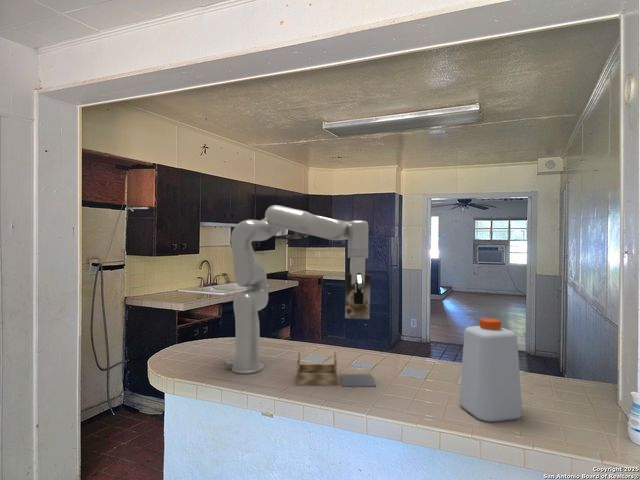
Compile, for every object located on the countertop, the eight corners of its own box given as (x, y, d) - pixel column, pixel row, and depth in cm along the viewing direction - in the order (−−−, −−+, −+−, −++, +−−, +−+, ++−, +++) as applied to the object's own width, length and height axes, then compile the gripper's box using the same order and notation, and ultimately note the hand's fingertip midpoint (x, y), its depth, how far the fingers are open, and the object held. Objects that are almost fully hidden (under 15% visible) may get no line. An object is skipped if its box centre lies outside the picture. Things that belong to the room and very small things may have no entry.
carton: (297, 385, 144) (297, 360, 144) (298, 374, 156) (298, 351, 156) (336, 385, 145) (336, 360, 144) (335, 374, 156) (335, 351, 156)
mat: (342, 386, 143) (342, 385, 143) (340, 375, 155) (340, 374, 155) (375, 386, 143) (375, 385, 143) (371, 375, 155) (371, 374, 155)
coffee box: (344, 318, 146) (345, 274, 146) (345, 315, 153) (345, 273, 153) (370, 319, 145) (370, 274, 145) (369, 316, 152) (370, 273, 152)
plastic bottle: (528, 420, 117) (529, 324, 117) (482, 424, 114) (483, 326, 114) (495, 399, 132) (496, 314, 132) (454, 403, 129) (454, 316, 129)
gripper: (346, 253, 158) (345, 298, 158) (349, 254, 140) (349, 306, 140) (365, 253, 158) (365, 298, 158) (371, 255, 140) (370, 306, 140)
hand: (357, 301), depth 149 cm, fingers closed on coffee box, 6 cm apart
